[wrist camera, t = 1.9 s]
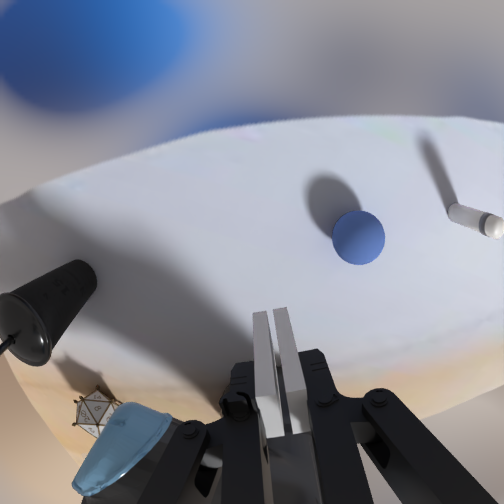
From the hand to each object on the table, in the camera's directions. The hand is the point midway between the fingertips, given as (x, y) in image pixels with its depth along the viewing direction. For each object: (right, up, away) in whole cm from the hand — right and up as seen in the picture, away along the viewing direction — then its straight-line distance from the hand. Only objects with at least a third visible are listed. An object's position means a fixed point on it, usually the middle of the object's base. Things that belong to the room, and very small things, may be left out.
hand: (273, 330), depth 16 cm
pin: (+24, +9, +15) cm, 30 cm away
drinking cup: (-23, +1, +17) cm, 28 cm away
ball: (+10, +6, +13) cm, 17 cm away
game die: (-24, -19, +23) cm, 38 cm away
